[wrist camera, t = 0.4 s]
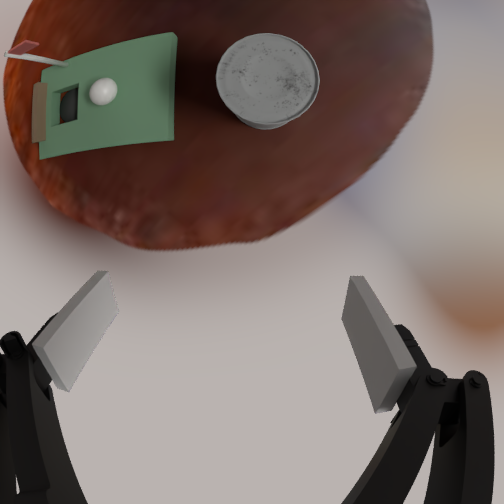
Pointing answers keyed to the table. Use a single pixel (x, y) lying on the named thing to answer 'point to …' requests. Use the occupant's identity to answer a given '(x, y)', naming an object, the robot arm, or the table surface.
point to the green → (114, 113)
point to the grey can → (267, 80)
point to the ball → (103, 91)
